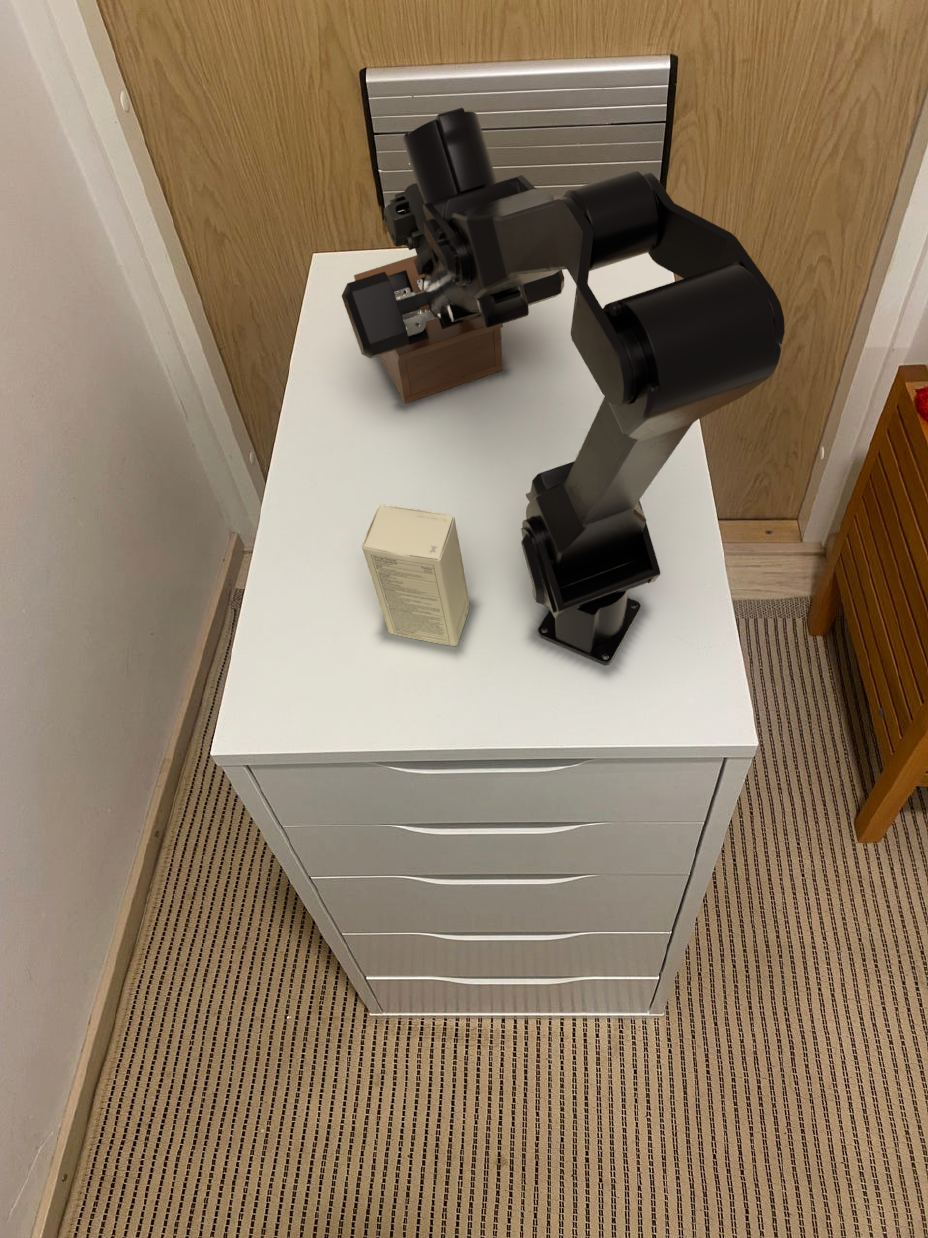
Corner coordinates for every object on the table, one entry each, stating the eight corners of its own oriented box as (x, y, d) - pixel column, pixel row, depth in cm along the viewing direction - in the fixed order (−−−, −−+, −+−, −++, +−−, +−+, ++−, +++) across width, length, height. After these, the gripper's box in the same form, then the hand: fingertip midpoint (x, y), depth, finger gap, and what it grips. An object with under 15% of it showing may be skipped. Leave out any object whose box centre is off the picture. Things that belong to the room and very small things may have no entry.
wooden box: (503, 370, 95) (500, 323, 90) (405, 403, 94) (397, 358, 89) (456, 297, 102) (452, 250, 97) (364, 328, 100) (355, 281, 96)
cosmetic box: (470, 606, 80) (459, 514, 70) (456, 650, 78) (442, 561, 67) (400, 592, 81) (379, 500, 71) (384, 635, 79) (359, 546, 69)
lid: (503, 327, 90) (501, 282, 86) (399, 361, 89) (391, 318, 84) (452, 250, 97) (447, 206, 93) (354, 281, 96) (346, 237, 91)
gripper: (550, 134, 74) (501, 191, 89) (325, 202, 71) (313, 249, 86) (592, 276, 77) (536, 308, 92) (375, 348, 74) (355, 369, 89)
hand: (437, 306), depth 90 cm, fingers closed on lid, 5 cm apart
